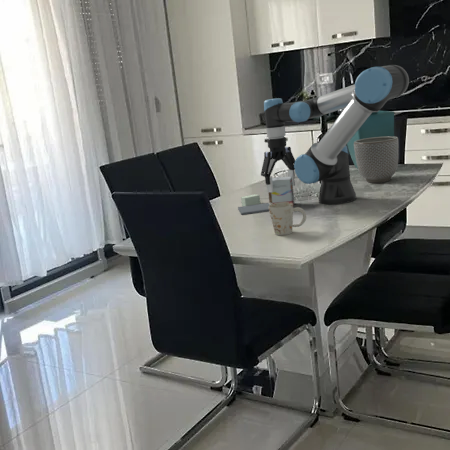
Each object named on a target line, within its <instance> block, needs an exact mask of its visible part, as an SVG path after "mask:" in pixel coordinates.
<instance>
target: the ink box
mask: <svg viewBox="0 0 450 450" xmlns="http://www.w3.org/2000/svg"><path fill="white" fill-rule="evenodd" d="M272 182H273V192H272V193H271V195H272V202H271V204H274V203H280V202H291V203H293V206H294V205H295V195H294V186H293V182H292V176H290V177H288V176H277V177H272Z"/></svg>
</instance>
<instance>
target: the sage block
mask: <svg viewBox="0 0 450 450" xmlns="http://www.w3.org/2000/svg"><path fill="white" fill-rule="evenodd" d="M240 201H241V207H242V206H249V205H256V204H261V198H260V195H259V194H257V193H256V194H255V193H254V194H250V195H246V196H241V197H240Z"/></svg>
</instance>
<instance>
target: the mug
mask: <svg viewBox="0 0 450 450" xmlns="http://www.w3.org/2000/svg"><path fill="white" fill-rule="evenodd" d="M294 212H299V213H301V215H302V219H301V221H300V223H298V224H297V223H296V224H293V221H294V220H293V219H294V218H293V216H294V214H293V213H294ZM268 213H269V215H270V219H271V223H272V224H271V225H272V228H273V231H274V235H277V236H286V235H291V234H292V233H293V228H298V227H301V226H303V225H304V224H305V222H306V220H307V213H306V211H305V210H304V209H303V208H302V207H297V206H296V207H294V205H293V203H291V202H280V203H274V204H272V203H270V204H269V211H268Z"/></svg>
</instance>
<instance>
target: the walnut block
mask: <svg viewBox="0 0 450 450" xmlns="http://www.w3.org/2000/svg"><path fill="white" fill-rule="evenodd" d="M267 193H268V200H269V202H268V203H269V204H272V195H271V192H267Z"/></svg>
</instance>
